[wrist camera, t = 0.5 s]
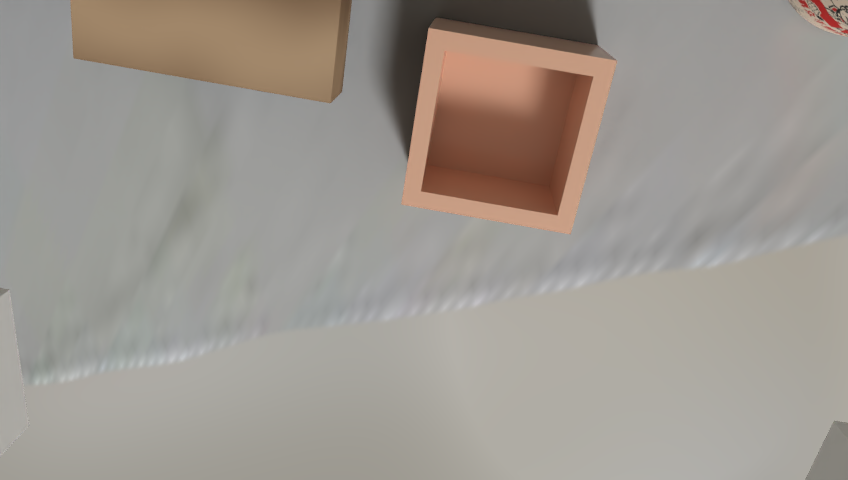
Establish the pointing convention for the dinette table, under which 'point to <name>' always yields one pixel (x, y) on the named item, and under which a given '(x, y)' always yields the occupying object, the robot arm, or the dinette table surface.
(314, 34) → the lid
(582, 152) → the pink hollow square box
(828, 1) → the teacup with lid
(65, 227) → the dinette table surface
